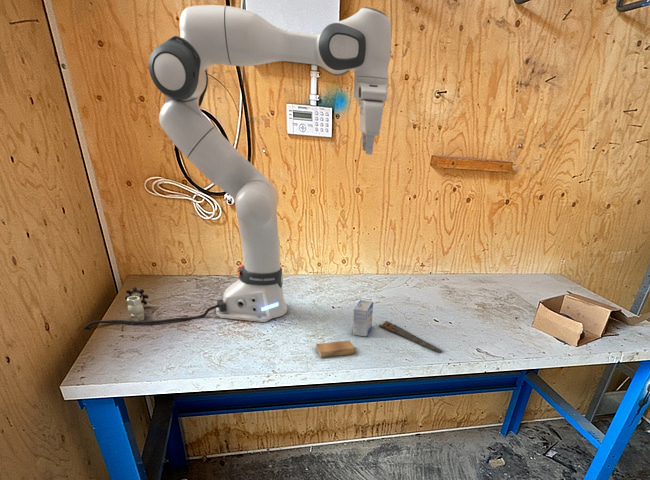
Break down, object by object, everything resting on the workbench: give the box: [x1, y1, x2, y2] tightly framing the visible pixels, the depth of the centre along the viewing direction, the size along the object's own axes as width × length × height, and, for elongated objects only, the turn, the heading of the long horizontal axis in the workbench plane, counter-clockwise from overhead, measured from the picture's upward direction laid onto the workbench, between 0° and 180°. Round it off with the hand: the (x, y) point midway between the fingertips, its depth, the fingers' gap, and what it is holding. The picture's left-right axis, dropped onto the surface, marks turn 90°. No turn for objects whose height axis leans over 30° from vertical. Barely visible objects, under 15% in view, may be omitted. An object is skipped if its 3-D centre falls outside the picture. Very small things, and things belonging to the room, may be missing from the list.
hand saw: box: [378, 320, 443, 353], centre depth 135 cm, size 24×5×1 cm, turn 48°
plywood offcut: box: [315, 340, 356, 359], centre depth 123 cm, size 10×5×2 cm, turn 112°
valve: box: [124, 286, 149, 321], centre depth 132 cm, size 7×7×12 cm
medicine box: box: [352, 299, 374, 338], centre depth 134 cm, size 8×4×9 cm, turn 168°
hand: (366, 152), depth 121 cm, fingers open, 8 cm apart
